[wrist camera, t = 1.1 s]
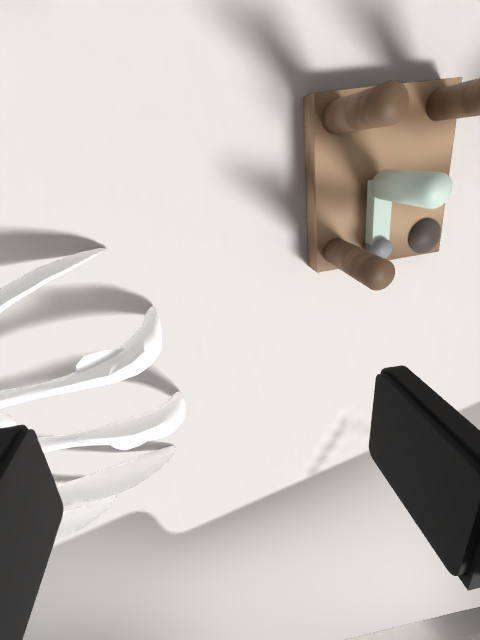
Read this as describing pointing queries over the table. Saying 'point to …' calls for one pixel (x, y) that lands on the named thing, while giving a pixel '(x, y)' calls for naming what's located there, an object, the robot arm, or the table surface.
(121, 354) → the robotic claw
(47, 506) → the robot arm
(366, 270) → the stool
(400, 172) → the hinged leg
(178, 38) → the table surface
